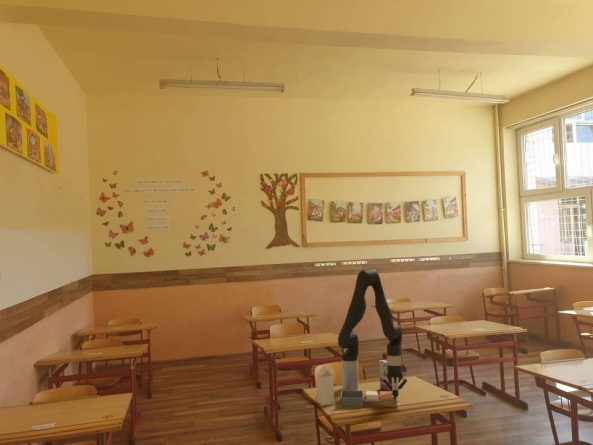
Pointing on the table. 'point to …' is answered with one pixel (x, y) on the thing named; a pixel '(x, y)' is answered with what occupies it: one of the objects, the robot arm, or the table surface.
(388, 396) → the tile terracotta
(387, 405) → the grey brown tray
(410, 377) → the table surface
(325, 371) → the milk carton
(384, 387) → the candy bar box
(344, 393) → the tray
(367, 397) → the tile cream
